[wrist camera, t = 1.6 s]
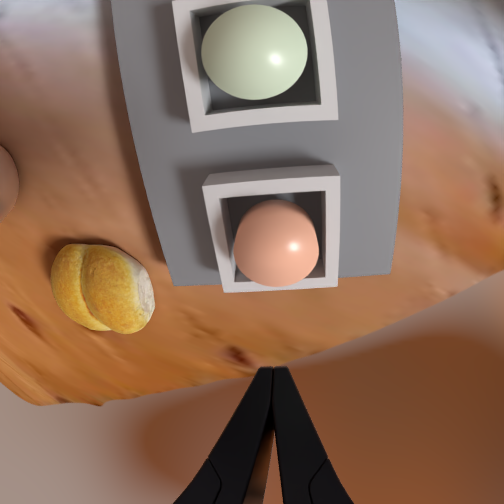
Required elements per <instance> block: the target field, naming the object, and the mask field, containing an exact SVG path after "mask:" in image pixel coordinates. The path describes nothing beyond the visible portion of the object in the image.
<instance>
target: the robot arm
mask: <svg viewBox="0 0 504 504" xmlns="http://www.w3.org/2000/svg"><path fill="white" fill-rule="evenodd" d="M274 433H275V438H276V446H277V455H278V463H279V471H280V480H281V487H282V497H283V504H354V503H353V501H352V500H351V498H350V497H349V495H348V494H347V492H346V491H345V489H344V487H343V486H342V484H341V482H340V480H339V478H338V477H337V475H336V472H335V470H334V468H333V467H332V464H331V462H330V460H329V459H328V456H327V453H326V451H325V449H324V447H323V445H322V443H321V440H320V438H319V436H318V434H317V431H316V429H315V427H314V425H313V423H312V420H311V418H310V416H309V414H308V412H307V409H306V407H305V405H304V402H303V400H302V398H301V396H300V394H299V391H298V389H297V387H296V384H295V382H294V380H293V378H292V375H291V373H290V371H289V369H288V367H287V366H275V367H274V368H273V367H271V366H269V367H260V368H259V369H258V371H257V373H256V374H255V376H254V378H253V380H252V382H251V384H250V386H249V387H248V389H247V391H246V392H245V395H244V396H243V398H242V400H241V401H240V403H239V405H238V407H237V408H236V410H235V412H234V414H233V415H232V417H231V419H230V421H229V422H228V424H227V426H226V427H225V429H224V431H223V432H222V434H221V436H220V437H219V439H218V441H217V443H216V444H215V446H214V447H213V449H212V451H211V452H210V454H209V456H208V458H209V459H208V458H207V459H206V461H205V462H204V463H203V465H202V467H201V468H200V470H199V471H198V473H197V474H196V476H195V477H194V478H193V480H192V482H191V483H190V484H189V485H188V486H187V488H186V489H185V490H184V491H183V492H182V494H181V495H180V496H179V497H178V498H177V499H176V500H175V502H174V503H173V504H263V499H264V493H265V488H266V483H267V477H268V471H269V465H270V459H271V453H272V447H273V440H274Z"/></svg>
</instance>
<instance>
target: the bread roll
mask: <svg viewBox="0 0 504 504" xmlns="http://www.w3.org/2000/svg"><path fill="white" fill-rule="evenodd" d="M51 287H52V292H53V295H54V298H55V300H56V302H57V304H58V305H59V307H60V308H61V310H62V311H63V312H64V313H65V314H66V315H67V316H68V317H69V318H71V319H72V320H74V321H75V322H77V323H79V324H81V325H83V326H85V327H87V328H89V329H91V330H113V331H115V332H118V333H122V334H131V333H133V332H137V331H139V330H140V329H142V328H143V327H144V326H145V325H146V324H147V322H148V321H149V320H150V318H151V315H152V313H153V311H154V309H155V301H154V295H153V288H152V284H151V281H150V278H149V276H148V273H147V271H146V269H145V268H144V267H143V266H142V265H141V264H140V263H139V262H138V261H137V260H135V259H134V258H132V257H131V256H129V255H128V254H126V253H125V252H123V251H121V250H120V249H118V248H116V247H113V246H106V245H86V244H69V245H66V246H65V247H63V248H62V249H61V250H60V251H59V253H58V254H57V256H56V258H55V260H54V263H53V265H52V269H51Z"/></svg>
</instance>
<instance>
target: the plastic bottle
mask: <svg viewBox="0 0 504 504" xmlns="http://www.w3.org/2000/svg"><path fill="white" fill-rule="evenodd" d="M18 193H19V176H18V172H17V168H16V165H15V163H14V161H13V159H12V157H11V156H10V154H9V153H8V152H7V151H6V150H5V149H4V148H3V147H2V146H0V222H2V221H3V219H4V218H5V217H6V216H7V215H8V214H9V213H10V211H11V210H12V209H13V208H14V206H15V203H16V200H17V196H18Z"/></svg>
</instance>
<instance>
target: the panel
mask: <svg viewBox="0 0 504 504" xmlns="http://www.w3.org/2000/svg"><path fill="white" fill-rule="evenodd" d="M254 4H255V5H265V6H270V7H273V8H276V9H278V10H280V11H282V12H284V13H285V14H287V15H288V16H290V17H291V18H292V19H293V20H294V21H295V22H296V23H297V24H298V26H299V27H300V29H301V30H302V32H303V34H304V37H305V40H306V44H307V61H306V65H305V67H304V70H303V72H302V74H301V75H300V77H299V78H298V80H297V81H296V82H295V83H294V84H293V85H292V86H291V87H290V88H288V89H287V90H286V91H284V92H282V93H280V94H278V95H276V96H273V97H270V98H266V99H259V100H250V99H243V98H238V97H235V96H232V95H230V94H228V93H226V92H225V91H223V90H221V89H220V88H219V87H218V86H216V85H215V84H214V83H213V81H212V80H211V79H210V78H209V76H208V75H207V73H206V71H205V68H204V66H203V62H202V56H201V49H202V42H203V39H204V36H205V34H206V32H207V30H208V28H209V27H210V26H211V24H212V23H213V22H214V21H215V20H216V19H217V18H218V17H219V16H221V15H222V14H224V13H225V12H227V11H229V10H231V9H233V8H236V7H239V6H244V5H254ZM111 7H112V16H113V25H114V32H115V40H116V47H117V54H118V60H119V67H120V73H121V79H122V84H123V90H124V95H125V101H126V106H127V111H128V116H129V121H130V126H131V130H132V135H133V140H134V144H135V148H136V153H137V157H138V161H139V165H140V170H141V174H142V178H143V182H144V186H145V189H146V193H147V197H148V201H149V205H150V208H151V212H152V216H153V219H154V223H155V226H156V230H157V233H158V237H159V240H160V243H161V247H162V250H163V253H164V257H165V260H166V263H167V266H168V269H169V272H170V276H171V279H172V282H173V285H174V286H191V285H217V284H222V286H223V290H224V293H226V292H251V291H271V290H290V289H307V288H322V287H337V286H338V278H343V277H357V276H370V275H382V274H390V272H391V265H392V259H393V252H394V245H395V237H396V229H397V221H398V211H399V201H400V189H401V174H402V154H403V86H402V67H401V53H400V42H399V32H398V24H397V16H396V9H395V2H394V0H111ZM267 200H285V201H289V202H292V203H294V204H296V205H298V206H300V207H301V208H303V209H304V210H305V211H306V212H307V213H308V215H309V216H310V218H311V219H312V221H313V224H314V228H315V232H316V237H317V242H318V247H319V255H318V260H317V263H316V265H315V267H314V268H313V270H312V271H311V272H310V273H309V274H308V275H307V276H306V277H305V278H304V279H302V280H301V281H299V282H297V283H294V284H292V285H288V286H283V287H270V286H264V285H261V284H258V283H256V282H254V281H252V280H250V279H249V278H248V277H246V276H245V275H244V274H243V273H242V272H241V271H240V269H239V268H238V266H237V264H236V262H235V259H234V253H233V249H234V243H235V238H236V234H237V229H238V225H239V222H240V220H241V218H242V216H243V215H244V214H245V213H246V212H247V211H248V210H249V209H250V208H251V207H252V206H254V205H256V204H258V203H260V202H263V201H267Z"/></svg>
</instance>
